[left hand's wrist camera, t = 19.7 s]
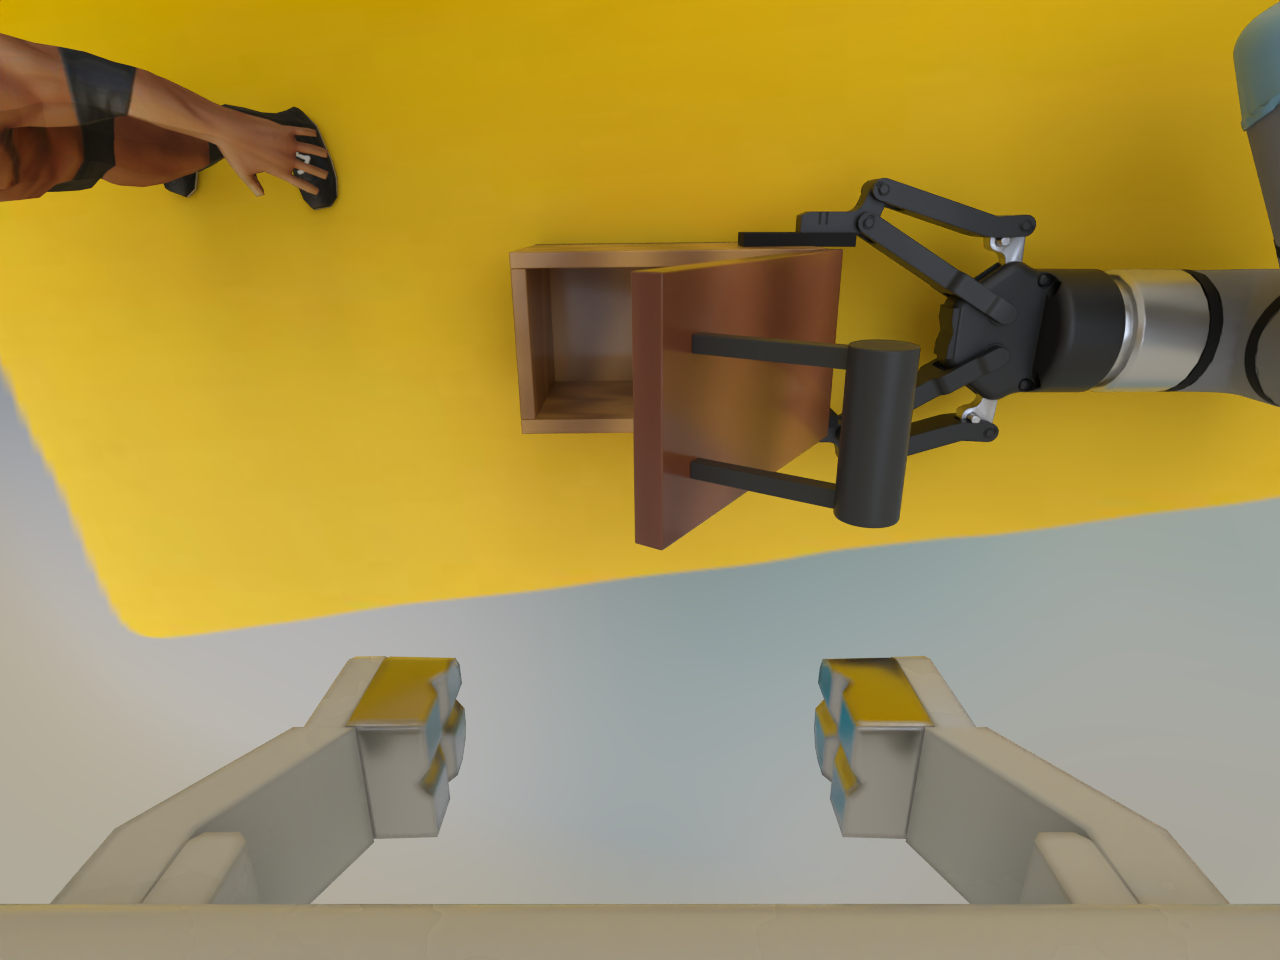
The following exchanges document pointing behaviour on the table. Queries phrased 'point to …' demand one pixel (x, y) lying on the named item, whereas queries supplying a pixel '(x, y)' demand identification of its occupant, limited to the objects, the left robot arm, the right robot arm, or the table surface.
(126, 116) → the figurine
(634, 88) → the table surface
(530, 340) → the chest
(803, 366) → the lid
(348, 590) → the table surface
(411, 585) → the table surface
